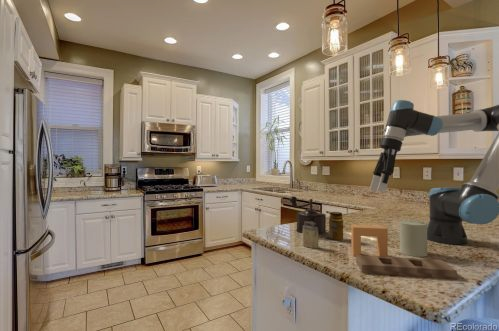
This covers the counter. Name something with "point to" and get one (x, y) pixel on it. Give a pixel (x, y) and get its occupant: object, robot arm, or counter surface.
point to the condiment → (335, 227)
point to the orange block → (375, 231)
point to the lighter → (310, 235)
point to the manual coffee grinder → (309, 217)
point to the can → (413, 238)
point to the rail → (405, 266)
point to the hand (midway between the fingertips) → (376, 191)
